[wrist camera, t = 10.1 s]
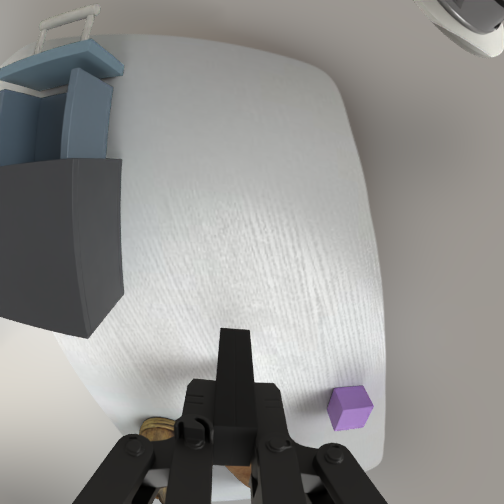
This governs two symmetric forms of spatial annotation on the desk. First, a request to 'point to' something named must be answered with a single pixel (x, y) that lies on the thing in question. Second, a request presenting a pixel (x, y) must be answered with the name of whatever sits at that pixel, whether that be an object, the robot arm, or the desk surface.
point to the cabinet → (60, 243)
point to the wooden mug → (155, 432)
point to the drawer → (58, 98)
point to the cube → (349, 408)
